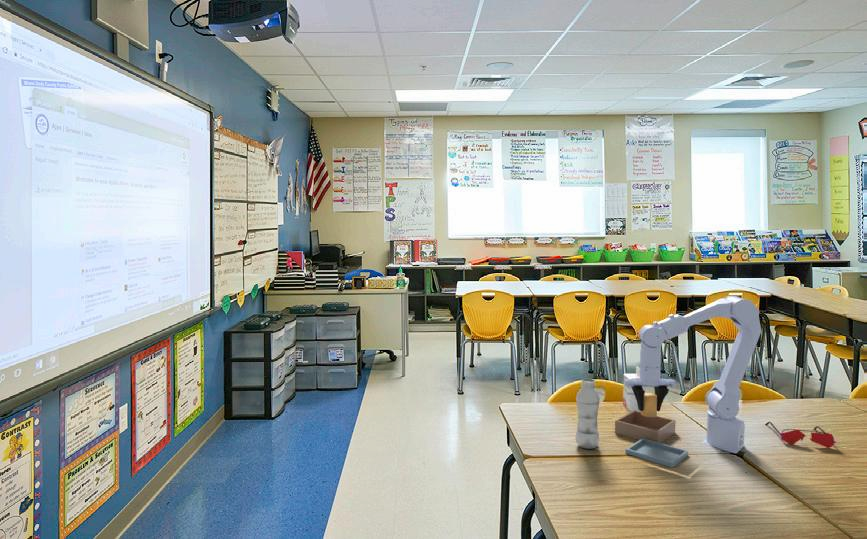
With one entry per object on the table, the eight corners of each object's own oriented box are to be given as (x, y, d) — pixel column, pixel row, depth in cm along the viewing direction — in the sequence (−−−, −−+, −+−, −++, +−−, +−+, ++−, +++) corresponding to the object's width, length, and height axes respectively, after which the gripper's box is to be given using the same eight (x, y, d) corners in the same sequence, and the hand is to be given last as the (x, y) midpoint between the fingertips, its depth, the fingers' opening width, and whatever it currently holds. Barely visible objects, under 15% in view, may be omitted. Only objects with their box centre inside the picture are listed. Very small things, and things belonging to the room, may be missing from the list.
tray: (688, 457, 148) (688, 451, 148) (672, 469, 141) (672, 463, 140) (642, 443, 157) (642, 438, 157) (625, 455, 150) (625, 449, 150)
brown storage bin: (675, 434, 164) (675, 420, 164) (657, 447, 155) (657, 432, 155) (633, 423, 174) (634, 410, 173) (614, 434, 165) (615, 420, 164)
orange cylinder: (659, 414, 159) (659, 395, 159) (652, 418, 156) (653, 398, 156) (644, 411, 162) (645, 391, 162) (638, 414, 159) (638, 395, 159)
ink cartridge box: (621, 405, 192) (622, 365, 191) (635, 405, 192) (636, 365, 191) (630, 413, 184) (631, 371, 182) (644, 413, 183) (645, 371, 182)
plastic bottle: (600, 452, 152) (601, 384, 150) (575, 450, 153) (577, 382, 151) (598, 443, 158) (599, 377, 156) (574, 441, 159) (575, 376, 158)
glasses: (780, 445, 157) (781, 428, 157) (764, 425, 173) (765, 410, 172) (836, 451, 153) (837, 434, 152) (814, 430, 169) (815, 415, 168)
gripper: (669, 362, 162) (667, 405, 163) (621, 362, 162) (620, 405, 163) (679, 368, 155) (677, 413, 156) (629, 368, 155) (628, 413, 156)
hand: (648, 410), depth 159 cm, fingers closed on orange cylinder, 4 cm apart
